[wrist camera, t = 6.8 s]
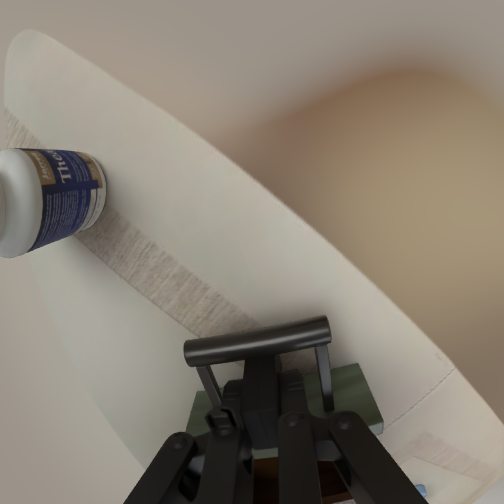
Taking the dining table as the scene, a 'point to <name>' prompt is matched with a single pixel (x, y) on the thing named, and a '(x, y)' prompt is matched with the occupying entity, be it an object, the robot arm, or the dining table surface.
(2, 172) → the pill bottle
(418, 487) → the spotlight
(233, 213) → the dining table surface
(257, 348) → the drawer
